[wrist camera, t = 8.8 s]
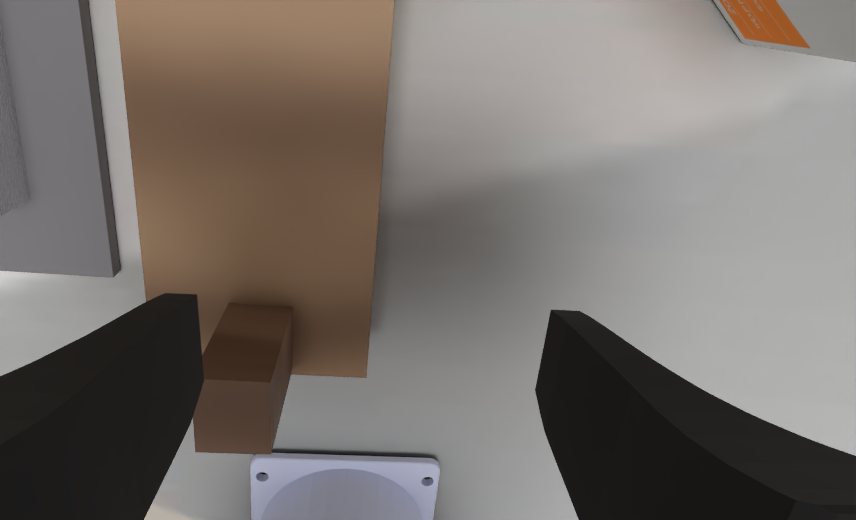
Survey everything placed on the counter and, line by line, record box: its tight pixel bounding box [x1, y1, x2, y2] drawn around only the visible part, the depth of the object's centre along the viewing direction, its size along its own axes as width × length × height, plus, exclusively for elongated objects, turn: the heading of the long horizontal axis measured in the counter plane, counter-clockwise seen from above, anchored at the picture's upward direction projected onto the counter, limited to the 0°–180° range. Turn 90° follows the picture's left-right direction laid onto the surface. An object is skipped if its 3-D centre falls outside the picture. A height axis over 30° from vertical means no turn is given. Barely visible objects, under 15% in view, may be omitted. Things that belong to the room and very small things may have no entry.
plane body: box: [115, 0, 394, 455], centre depth 16 cm, size 16×7×7 cm, turn 174°
